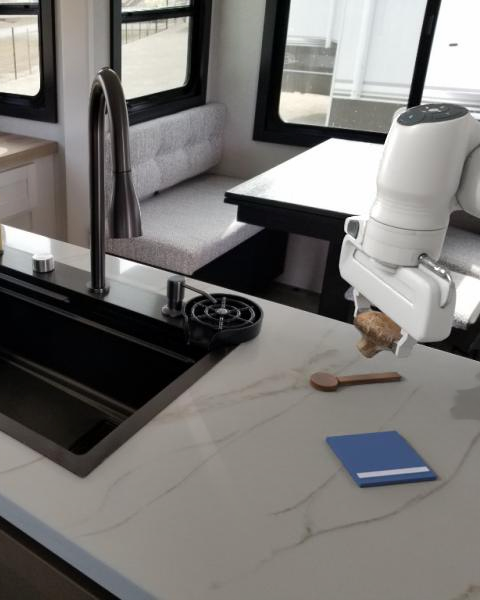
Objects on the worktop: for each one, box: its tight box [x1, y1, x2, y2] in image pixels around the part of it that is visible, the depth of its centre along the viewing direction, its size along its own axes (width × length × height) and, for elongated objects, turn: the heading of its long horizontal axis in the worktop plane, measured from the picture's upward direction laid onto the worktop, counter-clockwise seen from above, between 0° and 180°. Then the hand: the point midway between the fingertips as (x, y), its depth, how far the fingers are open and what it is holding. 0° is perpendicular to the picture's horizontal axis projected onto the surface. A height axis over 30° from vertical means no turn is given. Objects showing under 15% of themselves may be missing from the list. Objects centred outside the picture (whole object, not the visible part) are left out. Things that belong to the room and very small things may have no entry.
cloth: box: [325, 430, 438, 488], centre depth 82 cm, size 10×9×1 cm
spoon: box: [309, 371, 402, 393], centre depth 98 cm, size 14×4×1 cm, turn 97°
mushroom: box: [352, 310, 414, 359], centre depth 85 cm, size 8×8×6 cm
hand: (379, 336), depth 85 cm, fingers closed on mushroom, 8 cm apart
